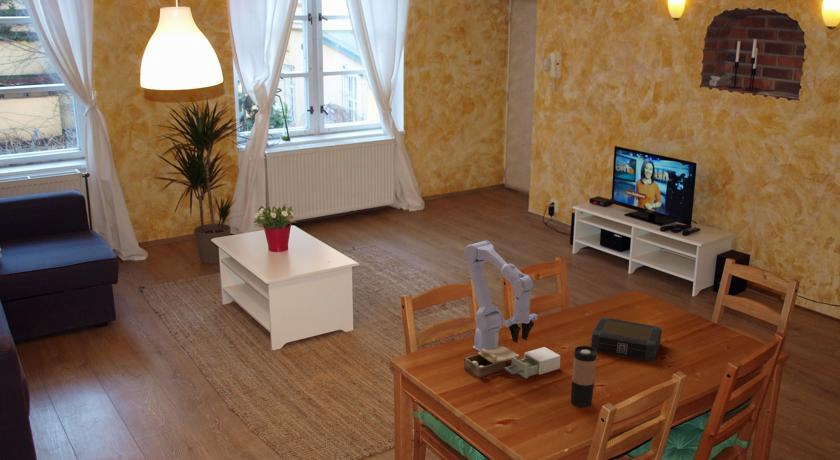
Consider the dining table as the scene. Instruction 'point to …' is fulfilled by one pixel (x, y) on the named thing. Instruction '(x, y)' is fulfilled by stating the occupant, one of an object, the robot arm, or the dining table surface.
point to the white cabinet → (544, 359)
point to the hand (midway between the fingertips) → (519, 340)
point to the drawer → (523, 367)
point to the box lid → (497, 354)
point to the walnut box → (482, 371)
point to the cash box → (626, 339)
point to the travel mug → (583, 376)
